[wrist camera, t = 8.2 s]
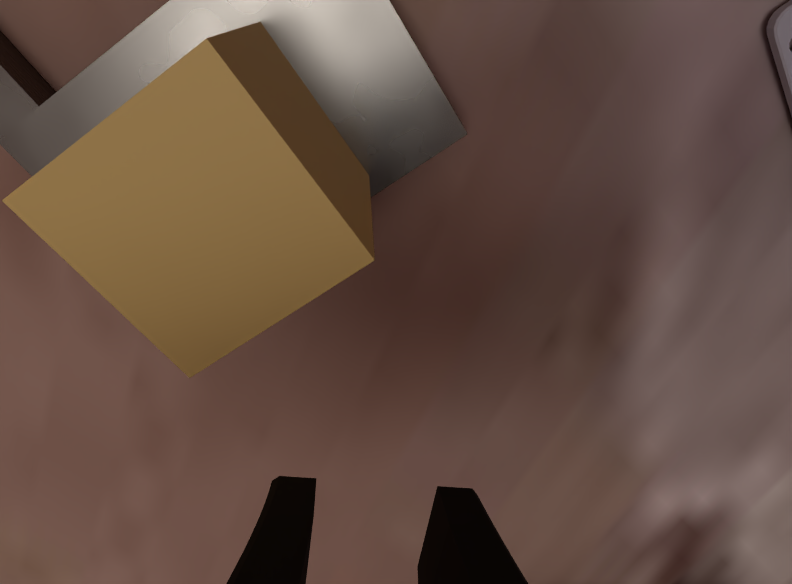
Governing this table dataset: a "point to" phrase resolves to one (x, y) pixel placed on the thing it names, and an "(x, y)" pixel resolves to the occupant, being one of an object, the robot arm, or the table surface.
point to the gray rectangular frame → (301, 45)
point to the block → (208, 201)
